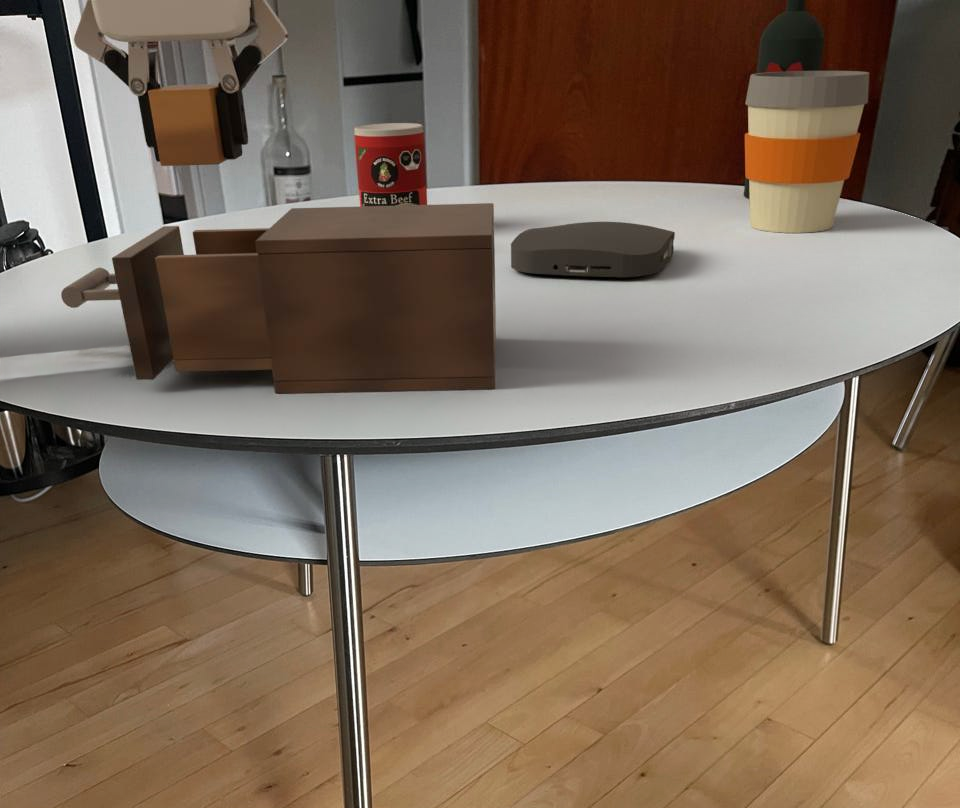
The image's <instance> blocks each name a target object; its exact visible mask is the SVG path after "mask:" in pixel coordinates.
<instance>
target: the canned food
mask: <svg viewBox="0 0 960 808" xmlns="http://www.w3.org/2000/svg"><path fill="white" fill-rule="evenodd" d="M353 135H354V136H353V137H354V148H355V149H354V150H355V160H356V161H355V162H356V173H357V185H358V194H359V195H358V196H359V197H358V198H359V207H363V206H396V205H399V204H402V203H412V204H417V205H428V191H427V189H428V188H427V186H428V185H427V169H426V168H427V165H426V145H425V144H426V143H425V131H424V125H423V124H421V123H414V122H413V123H412V122H411V123H410V122H388V123H387V122H386V123H372V124H363V125H359V126H355V127H354V133H353Z"/></svg>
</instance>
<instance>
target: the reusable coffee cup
mask: <svg viewBox="0 0 960 808" xmlns="http://www.w3.org/2000/svg"><path fill="white" fill-rule="evenodd" d="M869 89H870V72H868V71H858V70H821V71H789V72H769V73H757V72H756V73H752V74H750V77H749V82H748V86H747V93H746V97H745V103H744V104H745V105H746V106H747V118H748V120H747V121H748V126H747V127H748V132H746V133H744V170H745V172H744V175H745V176H744V177H745V178H747V179H749V193H750V198H749V226H750V227H751V228H753V229H754V230H758V231H763V232H771V233H784V234H785V233H786V234H804V233H816V232H823V231H824V232H825V231H827V230H830V229H832V227H833V225H834V221H835V217H836V213H837V209H838V205H839V202H840V197H841V194H842V190H843V187H844V184H845V180H849V178H850V175H851V172H852V167H853V164H854V160H855V157H856V152H857V149H858V146H859V141H860V137H861V133H860V132H858V130H859V126H860V123H861V119H862V115H863V111H864V107H865V105H867V104H868V103H869Z"/></svg>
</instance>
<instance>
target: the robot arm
mask: <svg viewBox="0 0 960 808" xmlns="http://www.w3.org/2000/svg"><path fill="white" fill-rule="evenodd" d="M257 31H258V35H256V37H255V38H254V39H253V40H252V41H251V42H250V43H248V45H246V46H244V48H242V50H241V51H240V52H239V50H238V47H237V43H236V40H235V39H240V38H245V37H248V36H251V35H253V34H254V33H256V32H257ZM106 37H107V38H109V39H110V40H114V41H116V42H122V43H127V46H128V47H127V49H128V50H127V51H124V50H123V49H121V48H118V47H117V46H115V45H114V44H113V43H112V42H110V41H109V40H108V39H107V38H106ZM288 39H289V31H288V30H287V29H286V27H285V25H284V24H283V23H282V21H281V20H280V18H279V16H278V15H277V14H276V12H275V11H274V9H273V8H272V7H271V5H270V4H269V2H268V1H267V0H87V1H86V3H85V6H84V9H83V11H82V14H81V17H80V20H79V23H78V25H77V28H76V30H75V34H74V36H73V42H74V45H75V47H77V48H78V50H80V51H81V52H83V53H85V54H87V55H88V56H90V57H91V58H93V59H94V60H95V61H97V62H99V63H101V64H103V65H104V66H106V67H107V69H109V70H110V71H111V72H112V73H113V74H114V75H115V76H116V77H117V78H118V79H120V81H122V82H123V84H125V85H126V86H127V87H128V88H129V91H130V92H131V93H132V95H134V96H136V97H137V100H138V106H139V112H140V117H141V123H142V129H143V134H144V141H145V143H146V144H145V145H146V146H147V148H152V149H153V152H154V158H155V160H156V162H158V163H160V158H159V152H158V147H157V141H156V135H155V129H154V123H153V118H152V112H151V106H150V100H149V94H148V91H149V90H153V89H158V88H162V86H161V84H160V83H159V42H183V41H184V42H187V41H190V42H191V41H207V45H208V48H209V51H210V55H211V57H212V61H213V64H214V67H215V71H216V73H217V77H218V80H219V82H218V83H217V84H218V86H219V94H217V96H216V106H217V113H218V120H219V127H220V134H221V141H222V148H223V155H224V157H225V158H227V160H226V161H230V160H231V161H232V160H233V161H234V160H236V159H238V158H240V157H242V156H243V146H246V145H248V144H249V134H248V124H247V119H246V111H245V102H244V93H243V90H245V88H246V87H247V84H248V83H249V82H250V80H251V78H252V77H253V76H254V75H255V73H256V72H257V71H258V69H259V68H260V67H261V65H262V64H263V63H264V61H265V60H267V59H268V58H269V57H271V55H272V54H274V53H275V52H276V51H277V50H278V49H279V48H281V47H282V46H283V45H284V44H285V43H286V42H287V41H288Z"/></svg>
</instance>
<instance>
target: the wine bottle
mask: <svg viewBox="0 0 960 808" xmlns="http://www.w3.org/2000/svg"><path fill="white" fill-rule="evenodd" d="M806 5H807V0H786V7H785V11H784V12H782V13H780V14H778V15H777V16H776V17H775V18H773V20H771V21H770V22H769V23H768V25H767V26H766V28H765V29H764V31H763V32H762V34H761V37H760V38H759V46H758V47H759V49H758V58H757V67H756V74H757V73H769V72H789V71H822V63H823V55H824V46H825V39H826V38H825V34H824V33H825V32H824V29H823V26H821V23H820V22H819V20H818V19H817V18H815V16H813V14H811V13H810V12H808V11H806ZM743 197H745V199H750V193H749V179H747V178H746V177H745V179H744V189H743Z"/></svg>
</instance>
